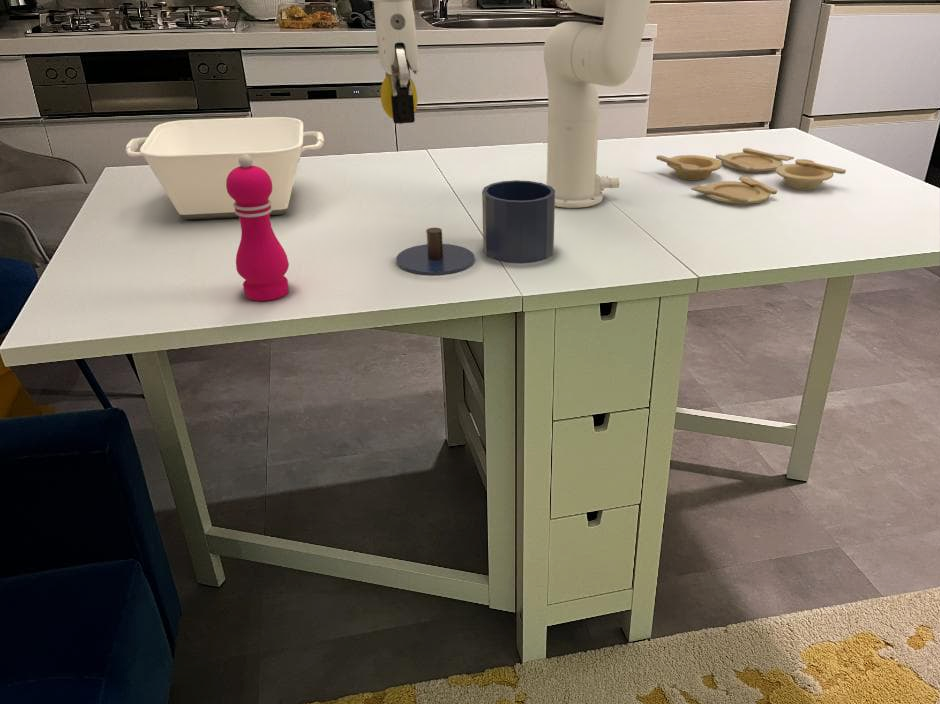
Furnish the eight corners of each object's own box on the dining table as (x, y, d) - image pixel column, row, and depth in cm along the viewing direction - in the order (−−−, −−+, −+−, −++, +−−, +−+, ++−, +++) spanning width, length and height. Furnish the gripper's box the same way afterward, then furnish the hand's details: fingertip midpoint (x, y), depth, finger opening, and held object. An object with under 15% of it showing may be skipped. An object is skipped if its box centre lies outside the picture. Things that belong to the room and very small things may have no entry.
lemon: (412, 129, 127) (407, 73, 122) (377, 127, 128) (372, 71, 123) (424, 120, 131) (420, 67, 127) (390, 119, 132) (386, 65, 128)
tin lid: (465, 247, 139) (464, 214, 137) (482, 274, 129) (482, 239, 126) (391, 253, 136) (388, 220, 133) (403, 282, 126) (400, 247, 123)
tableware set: (756, 154, 195) (759, 136, 192) (856, 187, 173) (860, 167, 171) (636, 174, 179) (638, 154, 177) (729, 212, 158) (732, 191, 155)
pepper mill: (247, 283, 125) (223, 148, 114) (296, 282, 125) (276, 147, 115) (236, 303, 119) (209, 162, 108) (288, 302, 119) (266, 161, 109)
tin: (541, 239, 143) (542, 178, 138) (562, 262, 134) (564, 198, 129) (476, 244, 140) (475, 183, 135) (493, 269, 131) (492, 204, 126)
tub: (129, 233, 142) (110, 157, 136) (153, 188, 164) (138, 121, 158) (332, 221, 149) (323, 149, 142) (329, 179, 171) (322, 115, 165)
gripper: (427, -7, 113) (435, 129, 123) (407, -19, 127) (416, 104, 137) (371, -6, 111) (383, 132, 121) (358, -18, 125) (370, 107, 135)
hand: (401, 116), depth 129 cm, fingers closed on lemon, 5 cm apart
